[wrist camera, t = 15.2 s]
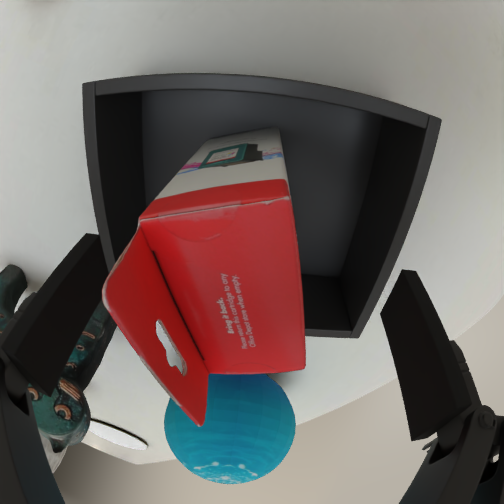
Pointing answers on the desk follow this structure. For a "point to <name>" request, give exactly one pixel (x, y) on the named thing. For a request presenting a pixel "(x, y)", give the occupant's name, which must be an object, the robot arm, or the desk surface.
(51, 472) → the robot arm
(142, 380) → the desk surface
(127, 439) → the plate
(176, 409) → the decorative orb
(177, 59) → the desk surface
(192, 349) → the ink box
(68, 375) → the ceramic cat
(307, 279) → the basket
